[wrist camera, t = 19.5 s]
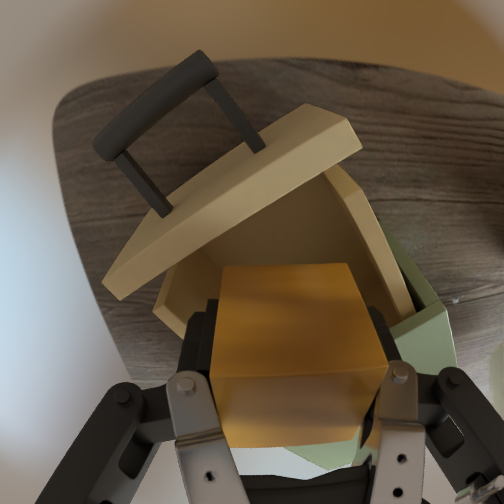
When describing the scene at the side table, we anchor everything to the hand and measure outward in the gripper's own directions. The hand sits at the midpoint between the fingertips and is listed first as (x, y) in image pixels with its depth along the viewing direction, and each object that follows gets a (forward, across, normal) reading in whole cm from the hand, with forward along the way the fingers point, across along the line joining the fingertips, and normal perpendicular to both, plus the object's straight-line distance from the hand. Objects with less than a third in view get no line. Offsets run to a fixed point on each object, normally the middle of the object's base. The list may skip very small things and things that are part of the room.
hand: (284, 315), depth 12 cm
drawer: (+8, +1, -1) cm, 8 cm away
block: (0, 0, 0) cm, 0 cm away
